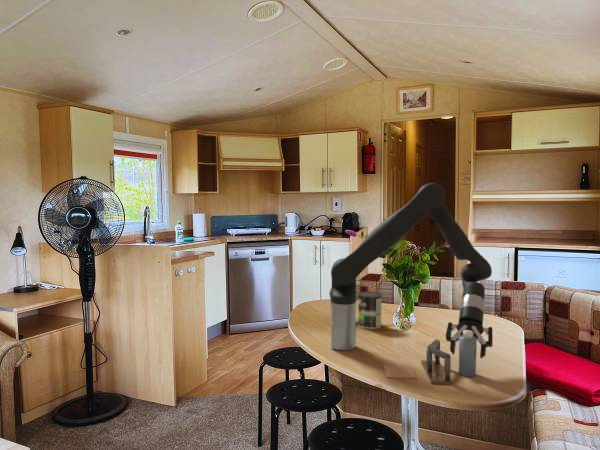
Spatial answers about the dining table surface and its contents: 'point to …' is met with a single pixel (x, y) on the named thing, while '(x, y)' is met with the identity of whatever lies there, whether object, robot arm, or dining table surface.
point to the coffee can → (369, 310)
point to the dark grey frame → (437, 364)
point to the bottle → (467, 354)
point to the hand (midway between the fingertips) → (467, 355)
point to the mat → (399, 371)
